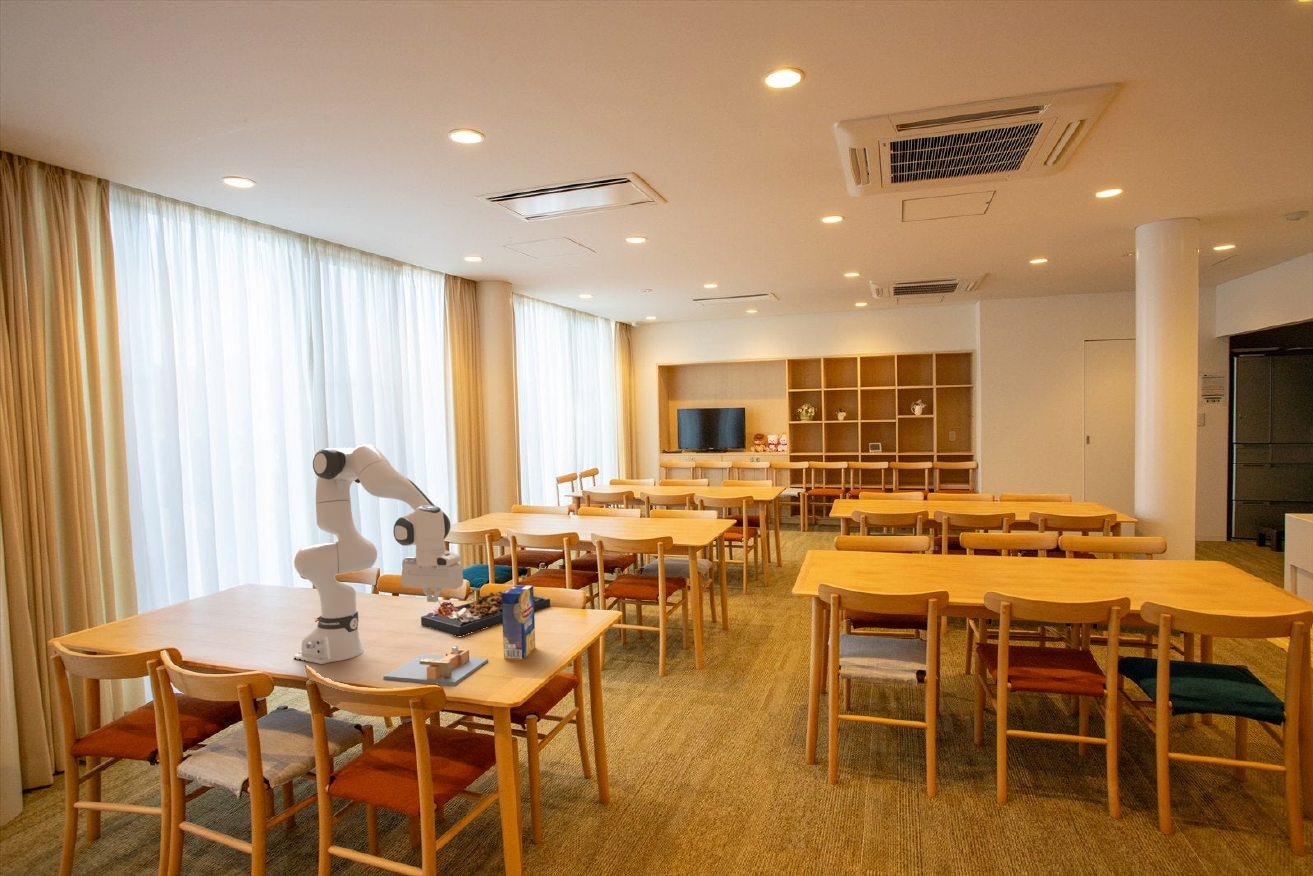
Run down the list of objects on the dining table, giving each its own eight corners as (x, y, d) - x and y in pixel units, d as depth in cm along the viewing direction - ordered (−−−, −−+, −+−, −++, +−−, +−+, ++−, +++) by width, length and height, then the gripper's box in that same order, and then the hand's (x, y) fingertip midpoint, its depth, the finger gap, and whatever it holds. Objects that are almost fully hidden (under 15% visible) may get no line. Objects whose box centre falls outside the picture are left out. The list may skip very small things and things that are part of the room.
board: (383, 679, 212) (383, 676, 212) (421, 656, 232) (421, 653, 232) (454, 685, 206) (454, 682, 206) (488, 661, 225) (488, 658, 225)
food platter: (460, 639, 251) (459, 611, 251) (421, 628, 266) (420, 601, 266) (550, 609, 286) (549, 585, 286) (511, 601, 302) (510, 577, 301)
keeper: (420, 676, 211) (419, 661, 211) (424, 674, 213) (423, 658, 213) (448, 678, 208) (447, 663, 208) (451, 676, 210) (451, 660, 210)
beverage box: (535, 648, 236) (533, 585, 236) (523, 660, 226) (520, 594, 225) (517, 648, 238) (514, 585, 237) (503, 659, 227) (501, 593, 226)
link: (438, 679, 208) (438, 668, 208) (423, 678, 209) (423, 667, 209) (469, 660, 224) (468, 650, 224) (455, 659, 226) (454, 648, 225)
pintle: (451, 663, 222) (450, 648, 222) (454, 661, 224) (453, 646, 224) (456, 663, 221) (455, 648, 221) (459, 661, 223) (459, 646, 223)
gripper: (395, 558, 214) (397, 602, 214) (453, 560, 208) (455, 605, 209) (408, 554, 220) (410, 597, 220) (464, 556, 214) (466, 600, 215)
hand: (432, 601), depth 214 cm, fingers closed
